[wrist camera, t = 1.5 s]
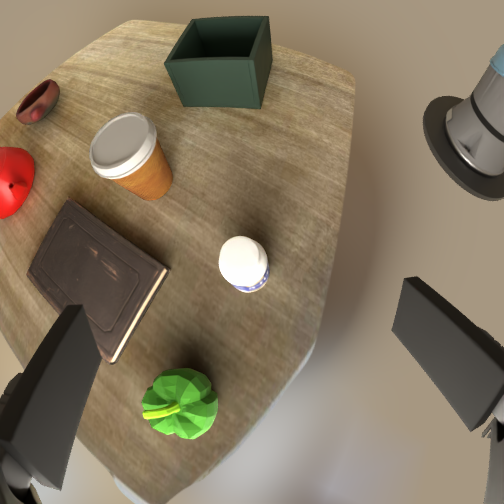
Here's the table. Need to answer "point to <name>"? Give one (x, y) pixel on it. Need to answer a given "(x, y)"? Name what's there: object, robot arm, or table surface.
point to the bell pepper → (180, 403)
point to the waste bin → (222, 62)
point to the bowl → (38, 102)
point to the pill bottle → (244, 263)
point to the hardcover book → (96, 276)
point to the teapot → (14, 179)
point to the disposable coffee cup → (131, 156)
